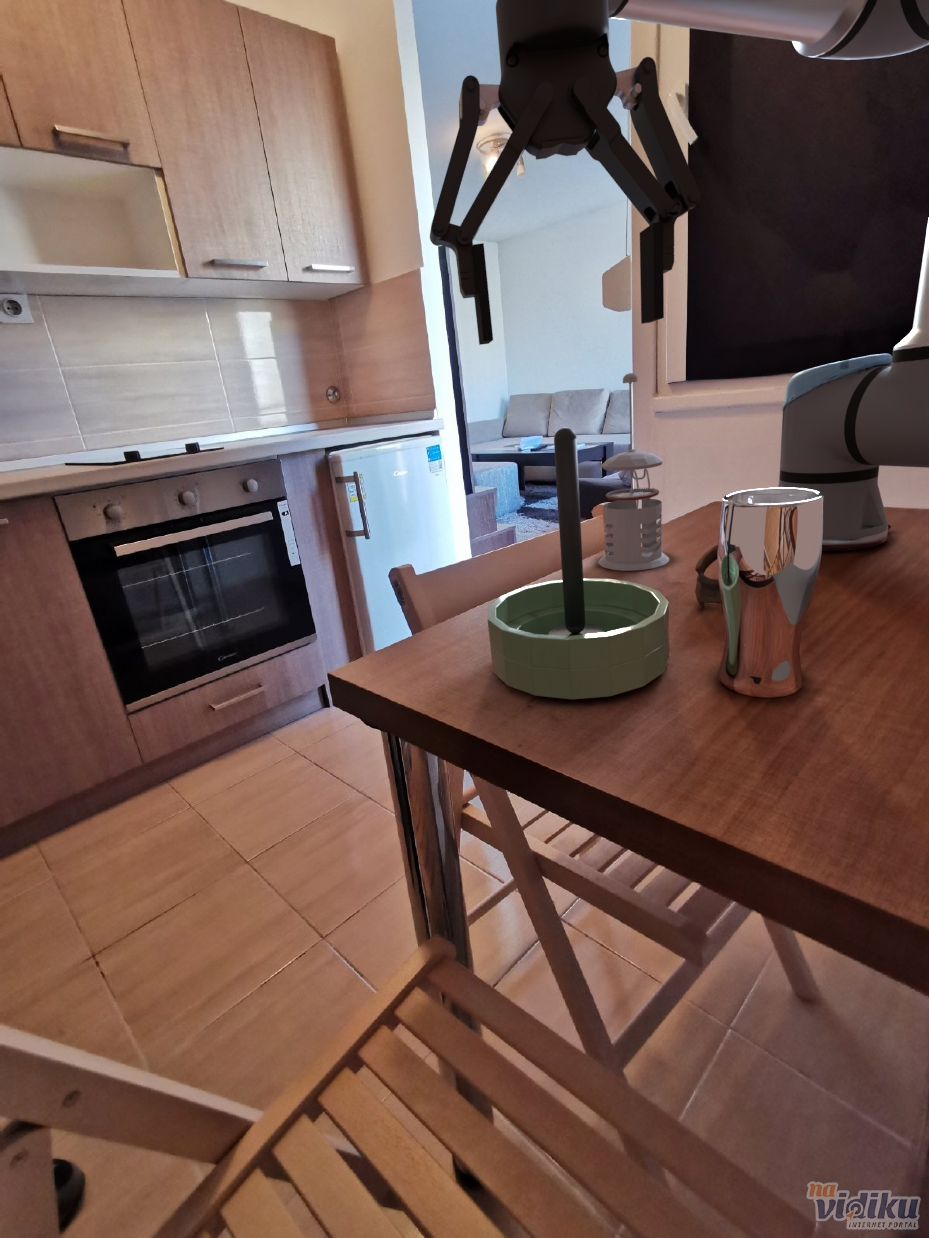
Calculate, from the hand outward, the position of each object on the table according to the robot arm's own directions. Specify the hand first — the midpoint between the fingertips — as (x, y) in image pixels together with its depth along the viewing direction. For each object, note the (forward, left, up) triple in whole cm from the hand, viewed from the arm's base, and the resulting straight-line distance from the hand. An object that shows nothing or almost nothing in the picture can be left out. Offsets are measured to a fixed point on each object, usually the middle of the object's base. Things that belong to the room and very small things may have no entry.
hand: (569, 332), depth 47 cm
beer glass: (-15, +3, -28) cm, 32 cm away
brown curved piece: (-13, -16, -28) cm, 35 cm away
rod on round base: (0, +3, -27) cm, 27 cm away
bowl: (0, +3, -28) cm, 28 cm away
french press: (+1, -33, -28) cm, 44 cm away
